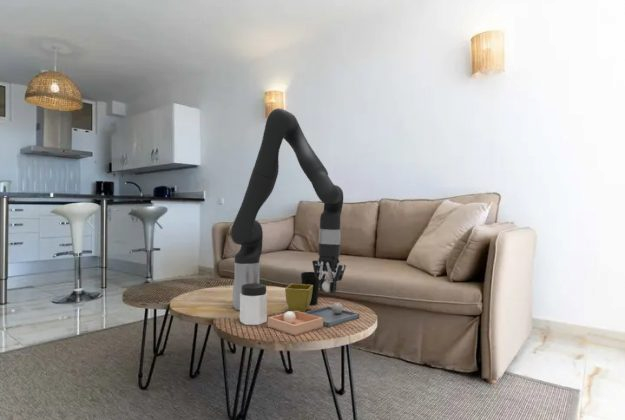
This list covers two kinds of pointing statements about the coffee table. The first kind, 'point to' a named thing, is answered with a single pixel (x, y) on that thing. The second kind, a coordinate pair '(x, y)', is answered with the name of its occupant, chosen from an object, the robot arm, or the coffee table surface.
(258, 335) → the coffee table surface
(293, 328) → the dish
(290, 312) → the white ball
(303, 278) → the cup
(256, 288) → the jar
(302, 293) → the flower pot
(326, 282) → the pebble
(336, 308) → the pebble
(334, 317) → the tray
